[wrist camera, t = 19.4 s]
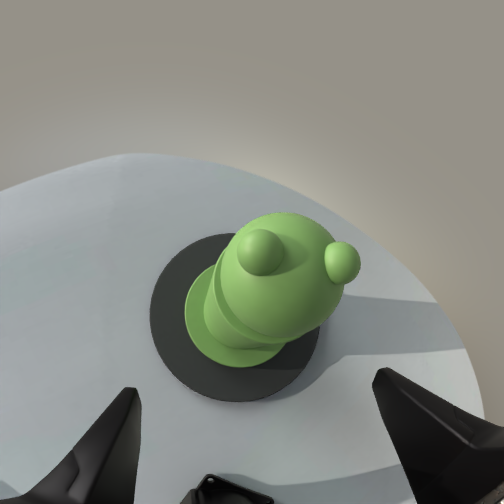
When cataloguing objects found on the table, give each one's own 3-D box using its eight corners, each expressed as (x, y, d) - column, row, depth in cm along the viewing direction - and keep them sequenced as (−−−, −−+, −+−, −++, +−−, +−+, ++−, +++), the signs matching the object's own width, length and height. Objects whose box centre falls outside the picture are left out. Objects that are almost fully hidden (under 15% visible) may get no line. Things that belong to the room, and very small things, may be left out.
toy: (286, 369, 22) (411, 374, 9) (179, 361, 21) (161, 371, 7) (290, 270, 25) (392, 175, 12) (191, 257, 24) (201, 131, 10)
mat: (341, 290, 26) (344, 289, 26) (266, 429, 21) (268, 430, 20) (212, 207, 26) (212, 204, 26) (117, 337, 21) (116, 337, 20)
